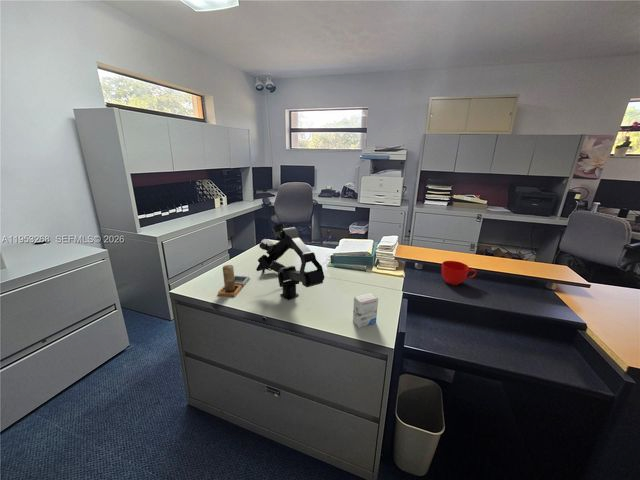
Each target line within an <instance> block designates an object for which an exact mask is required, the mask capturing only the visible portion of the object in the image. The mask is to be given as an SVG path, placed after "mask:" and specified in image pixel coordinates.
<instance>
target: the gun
mask: <svg viewBox="0 0 640 480" xmlns="http://www.w3.org/2000/svg"><path fill="white" fill-rule="evenodd" d="M272 262H273V265H272V266H271V267H270V268H269V269H268V270H267V271H270V272H271V271H273V272H276V273H278V272H279V270H280V268H284V267H286V266H285V265H284V264H283V263H280V262H278V261H277V260H276V261H275V260H274V261H272ZM261 271H262V272H261V273H264V274H265V271H266V269H265V270H261Z"/></svg>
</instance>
